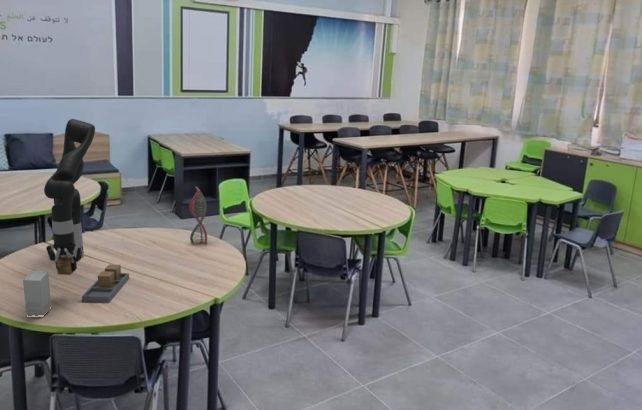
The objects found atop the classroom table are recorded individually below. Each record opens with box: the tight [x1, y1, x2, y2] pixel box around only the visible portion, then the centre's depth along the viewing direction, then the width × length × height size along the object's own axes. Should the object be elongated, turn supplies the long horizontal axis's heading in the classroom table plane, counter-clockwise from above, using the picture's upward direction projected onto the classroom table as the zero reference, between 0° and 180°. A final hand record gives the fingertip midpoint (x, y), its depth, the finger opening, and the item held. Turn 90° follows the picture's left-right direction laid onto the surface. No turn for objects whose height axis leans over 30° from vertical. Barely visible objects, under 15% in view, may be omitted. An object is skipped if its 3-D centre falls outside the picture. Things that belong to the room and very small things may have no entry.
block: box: [56, 256, 75, 276], centre depth 220 cm, size 5×5×6 cm
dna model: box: [188, 186, 208, 245], centre depth 285 cm, size 9×9×30 cm
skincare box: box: [22, 270, 52, 316], centre depth 207 cm, size 8×7×16 cm
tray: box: [81, 263, 130, 303], centre depth 230 cm, size 11×24×7 cm, turn 0°
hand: (66, 270), depth 220 cm, fingers closed on block, 5 cm apart
